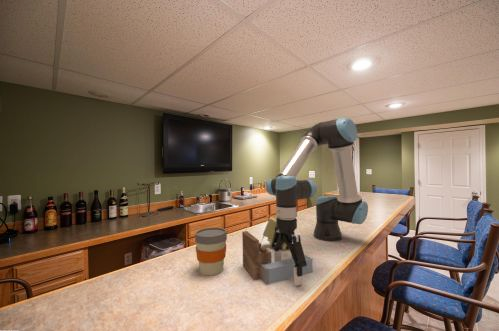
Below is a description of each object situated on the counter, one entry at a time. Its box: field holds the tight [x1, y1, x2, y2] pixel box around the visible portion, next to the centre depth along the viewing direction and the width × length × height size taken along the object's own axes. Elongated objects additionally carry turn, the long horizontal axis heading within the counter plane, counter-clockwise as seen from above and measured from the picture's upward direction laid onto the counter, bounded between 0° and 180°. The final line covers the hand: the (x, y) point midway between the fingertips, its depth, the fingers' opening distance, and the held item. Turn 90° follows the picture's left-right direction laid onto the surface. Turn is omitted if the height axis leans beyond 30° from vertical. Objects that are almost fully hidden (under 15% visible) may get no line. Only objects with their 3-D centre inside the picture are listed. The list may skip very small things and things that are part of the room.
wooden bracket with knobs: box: [241, 230, 273, 281], centre depth 82 cm, size 7×12×14 cm, turn 22°
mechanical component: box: [260, 216, 289, 251], centre depth 106 cm, size 8×17×20 cm, turn 79°
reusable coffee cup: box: [194, 227, 228, 277], centre depth 83 cm, size 13×13×15 cm
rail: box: [260, 254, 314, 285], centre depth 78 cm, size 20×4×5 cm, turn 114°
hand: (287, 275), depth 78 cm, fingers open, 13 cm apart
